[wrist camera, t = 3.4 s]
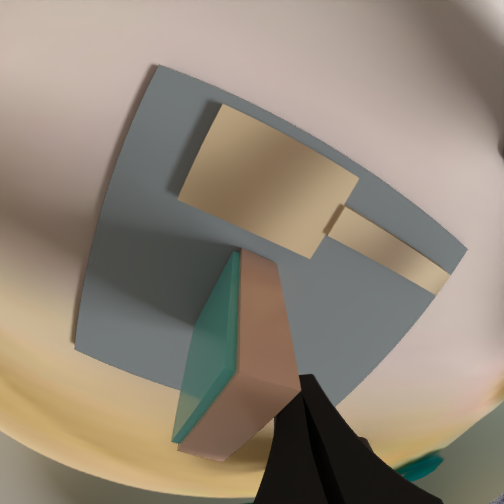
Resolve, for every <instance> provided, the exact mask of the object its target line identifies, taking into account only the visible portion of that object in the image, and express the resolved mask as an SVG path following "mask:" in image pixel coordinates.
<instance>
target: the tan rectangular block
mask: <svg viewBox="0 0 504 504" xmlns="http://www.w3.org/2000/svg"><path fill="white" fill-rule="evenodd" d="M300 391H301V386H300V380H299V375H298V370H297V364H296V359H295V353H294V348H293V343H292V338H291V332H290V327H289V322H288V317H287V312H286V307H285V302H284V297H283V292H282V287H281V282H280V277H279V272H278V267H277V263H274V262H272V261H270V260H268V259H266V258H263V257H261V256H259V255H257V254H255V253H253V252H250V251H248V250H246V249H244V248H242V249H241V250H240V252H239V253H238V252H235V251H233V252H232V254H231V256H230V258H229V260H228V262H227V264H226V266H225V268H224V269H223V271H222V273H221V275H220V277H219V279H218V281H217V283H216V285H215V286H214V288H213V290H212V292H211V294H210V296H209V298H208V300H207V302H206V304H205V306H204V308H203V309H202V311H201V313H200V315H199V317H198V319H197V321H196V323H195V325H194V328H193V332H192V337H191V342H190V346H189V351H188V356H187V361H186V366H185V370H184V375H183V380H182V386H181V391H180V396H179V401H178V406H177V412H176V417H175V423H174V428H173V434H172V440H171V442H174V443H178V448H177V451H180V452H184V453H188V454H191V455H195V456H199V457H203V458H207V459H212V460H216V461H221V462H223V461H224V460H225V459H227V458H228V457H229V456H230V455H232V454H233V453H234V452H235V451H236V450H238V449H239V448H240V447H241V446H242V445H244V444H245V443H246V442H247V441H248V440H249V439H250V438H252V437H253V436H254V435H255V434H256V433H257V432H258V431H259V430H261V429H262V428H263V427H264V426H265V425H266V424H267V423H268V422H269V421H270V420H271V419H273V418H274V417H275V416H276V415H277V414H278V413H279V412H280V411H281V410H282V409H283V408H284V407H285V406H286V405H287V404H288V403H289V402H290V401H291V400H292V399H293V398H294V397H295V396H296V395H297V394H298V393H299V392H300Z"/></svg>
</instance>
